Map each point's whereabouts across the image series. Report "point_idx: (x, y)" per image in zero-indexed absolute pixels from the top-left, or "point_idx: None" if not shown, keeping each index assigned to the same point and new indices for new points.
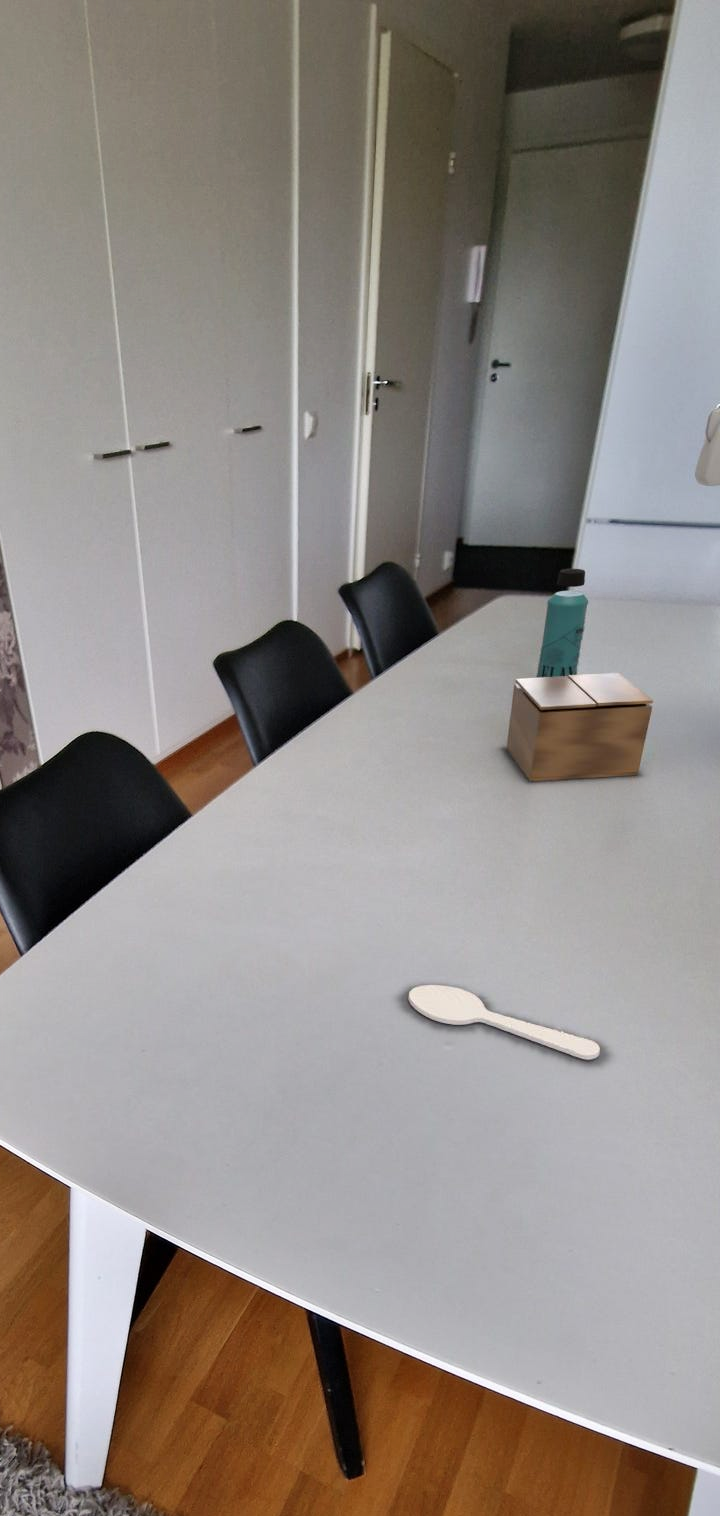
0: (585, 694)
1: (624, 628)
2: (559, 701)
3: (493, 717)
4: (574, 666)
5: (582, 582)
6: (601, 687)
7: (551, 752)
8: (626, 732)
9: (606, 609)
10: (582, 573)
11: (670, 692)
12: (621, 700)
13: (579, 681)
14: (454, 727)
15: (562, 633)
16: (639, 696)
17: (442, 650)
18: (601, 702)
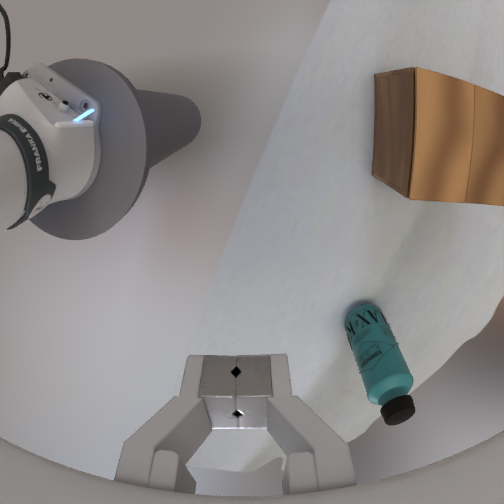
0: (475, 121)
1: (217, 440)
2: (500, 110)
3: (433, 269)
4: (363, 326)
5: (391, 402)
6: (453, 140)
7: None
8: None
9: (217, 462)
10: (396, 411)
11: (233, 319)
12: (450, 82)
13: (465, 172)
14: (470, 247)
15: (394, 349)
16: (427, 88)
17: (376, 414)
18: (470, 84)
